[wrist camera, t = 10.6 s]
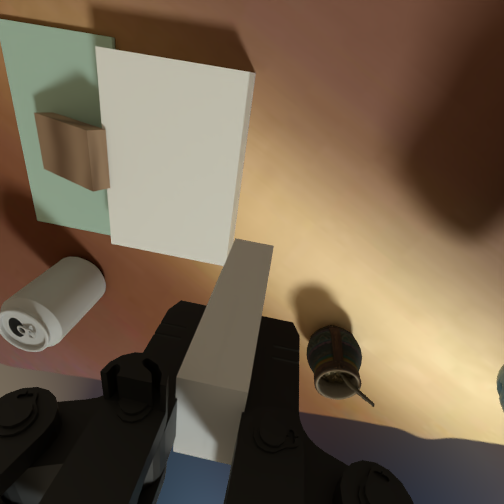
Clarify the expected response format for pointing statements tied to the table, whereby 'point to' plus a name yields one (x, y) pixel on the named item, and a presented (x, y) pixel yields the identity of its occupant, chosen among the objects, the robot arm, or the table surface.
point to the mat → (57, 101)
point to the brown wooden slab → (73, 150)
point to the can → (51, 304)
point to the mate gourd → (335, 363)
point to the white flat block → (173, 152)
